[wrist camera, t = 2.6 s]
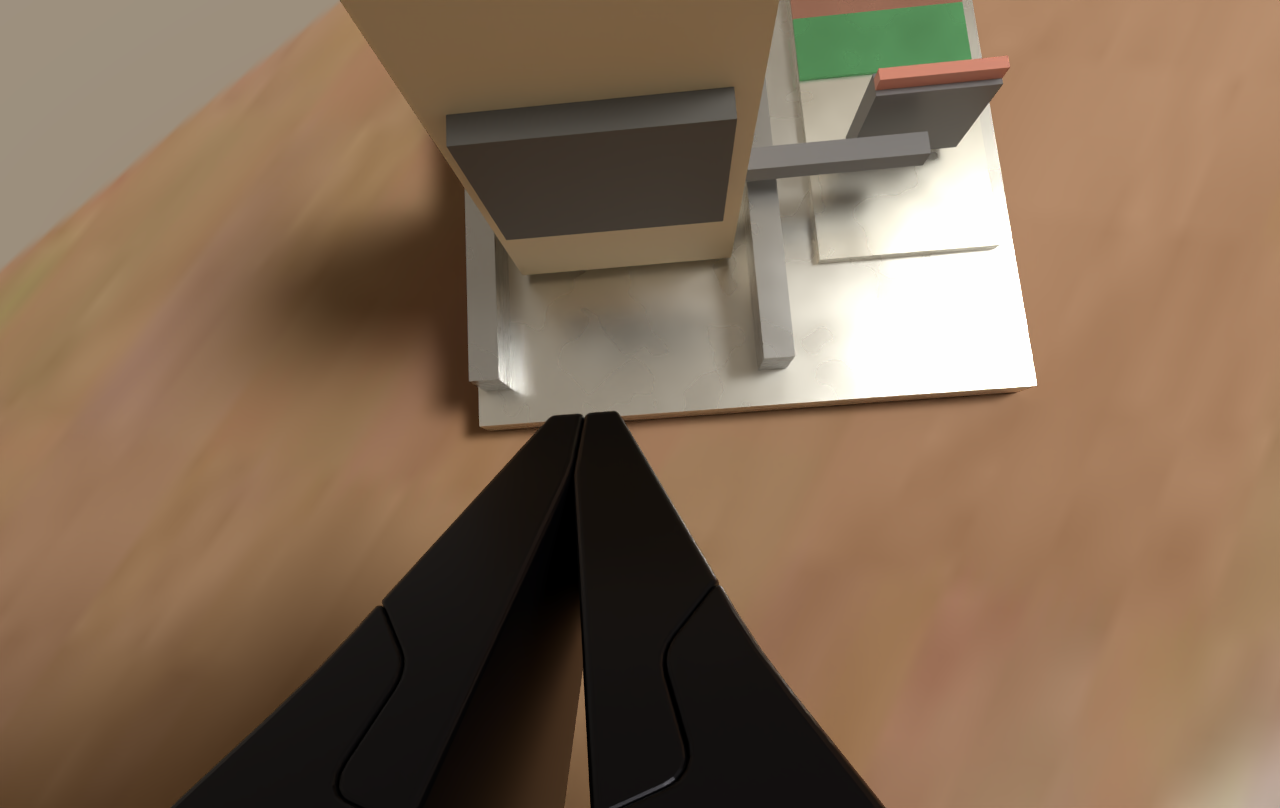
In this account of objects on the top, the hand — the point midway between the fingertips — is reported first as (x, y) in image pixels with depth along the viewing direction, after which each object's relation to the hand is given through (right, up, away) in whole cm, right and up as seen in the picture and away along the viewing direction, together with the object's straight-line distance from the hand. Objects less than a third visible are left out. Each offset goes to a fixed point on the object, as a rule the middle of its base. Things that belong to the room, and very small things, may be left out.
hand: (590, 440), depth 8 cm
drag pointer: (+8, +8, +10) cm, 15 cm away
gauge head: (+3, +6, +11) cm, 13 cm away
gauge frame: (+3, +7, +12) cm, 14 cm away
